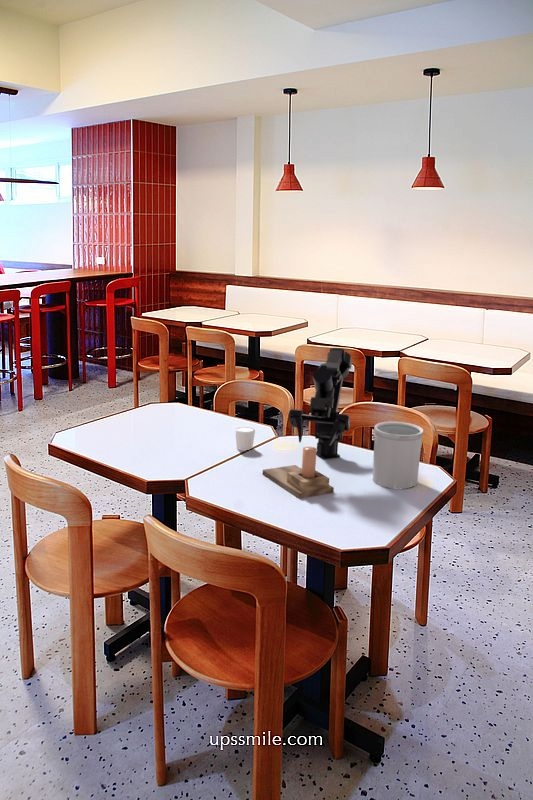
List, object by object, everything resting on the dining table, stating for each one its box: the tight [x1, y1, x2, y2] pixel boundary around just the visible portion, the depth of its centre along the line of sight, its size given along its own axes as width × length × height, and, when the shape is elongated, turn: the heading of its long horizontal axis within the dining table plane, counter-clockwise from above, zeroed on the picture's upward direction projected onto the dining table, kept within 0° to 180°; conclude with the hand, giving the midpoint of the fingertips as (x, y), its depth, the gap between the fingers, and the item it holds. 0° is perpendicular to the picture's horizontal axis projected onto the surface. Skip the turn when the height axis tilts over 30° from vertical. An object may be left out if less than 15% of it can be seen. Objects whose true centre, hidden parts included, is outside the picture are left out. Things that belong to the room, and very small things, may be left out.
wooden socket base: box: [262, 464, 335, 499], centre depth 207 cm, size 12×22×4 cm, turn 29°
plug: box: [301, 446, 317, 479], centre depth 201 cm, size 4×4×11 cm
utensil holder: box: [372, 421, 425, 490], centre depth 210 cm, size 15×15×18 cm
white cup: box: [235, 426, 256, 452], centre depth 239 cm, size 7×7×7 cm
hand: (314, 443), depth 207 cm, fingers open, 9 cm apart
